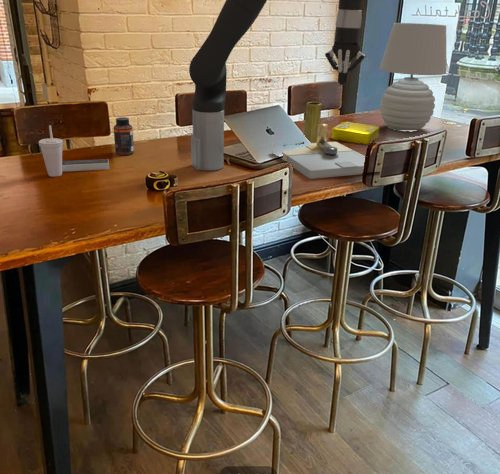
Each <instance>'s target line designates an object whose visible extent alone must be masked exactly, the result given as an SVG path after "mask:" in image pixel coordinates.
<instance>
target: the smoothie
mask: <svg viewBox="0 0 500 474" xmlns="http://www.w3.org/2000/svg"><path fill="white" fill-rule="evenodd" d="M48 130H49V138H42V139H40V140H39V141H38V146H39V147H40V151H41V154H42V157H43V160H44V164H45V168H46V172H47V175H48V177H52V178H53V177H59V176H62V175H63V172H62V161H63V145H64V141H63V139H61V138H56V137H55V138H54V137H53V131H52V125H50V124H48Z"/></svg>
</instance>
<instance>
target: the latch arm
mask: <svg viewBox="0 0 500 474" xmlns="http://www.w3.org/2000/svg"><path fill="white" fill-rule="evenodd" d="M328 128H329V124H327V123H324V122H323V123H321V122H320V124H318V131H317V143H316V146H319V147H320V148H321V149H322V150H323V151H324V154H326V155H331V156H333V155H337V148H336V147H332V146H331V145H329V144H328V143H327V142H328V141H327V140H328V139H327V138H328Z"/></svg>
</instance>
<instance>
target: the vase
mask: <svg viewBox="0 0 500 474" xmlns="http://www.w3.org/2000/svg"><path fill="white" fill-rule="evenodd" d="M305 107H306V108H305V109H306V110H305V120H304V126H303V127H304V129H303V136H304V135H305V137H306V138H307V139H308V140H309V141H310V142H311V143H317V131H318V124H320V123H321V117H322V107H323V105H322V103H321V102H319V101H309V102H306V106H305Z"/></svg>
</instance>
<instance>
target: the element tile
mask: <svg viewBox="0 0 500 474" xmlns="http://www.w3.org/2000/svg"><path fill="white" fill-rule="evenodd" d="M379 134H380V126H378V125H371V124H366V123H365V124H363V123H357V122H351V121H342V122H340V123H339V124H337V125H335V126H334V127H332V128H331V136H330V137H331V140H335V141H341V142H348V143H353V142H354V143H355V144H360V143H363V144H362V145H370V144H371V143H373V142H374V141H376V140H377V139H378V138H379V136H380V135H379ZM377 137H378V138H377ZM376 138H377V139H376ZM375 139H376V140H375ZM373 140H374V141H373ZM372 141H373V142H372ZM370 142H371V143H370ZM369 143H370V144H369Z"/></svg>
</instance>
